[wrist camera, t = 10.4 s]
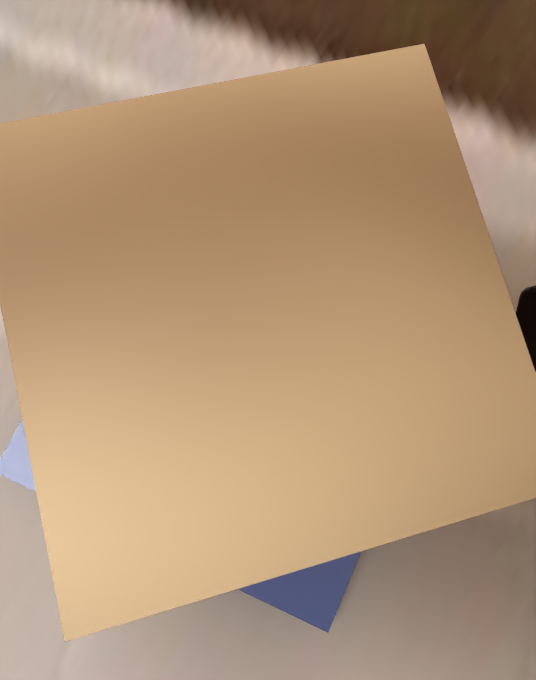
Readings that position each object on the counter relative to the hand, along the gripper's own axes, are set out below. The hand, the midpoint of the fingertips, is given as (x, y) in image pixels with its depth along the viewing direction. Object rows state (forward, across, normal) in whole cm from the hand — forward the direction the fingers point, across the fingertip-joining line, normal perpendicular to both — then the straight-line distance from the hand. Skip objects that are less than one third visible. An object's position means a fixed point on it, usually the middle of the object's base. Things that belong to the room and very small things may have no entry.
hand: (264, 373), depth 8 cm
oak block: (+7, 0, +6) cm, 9 cm away
